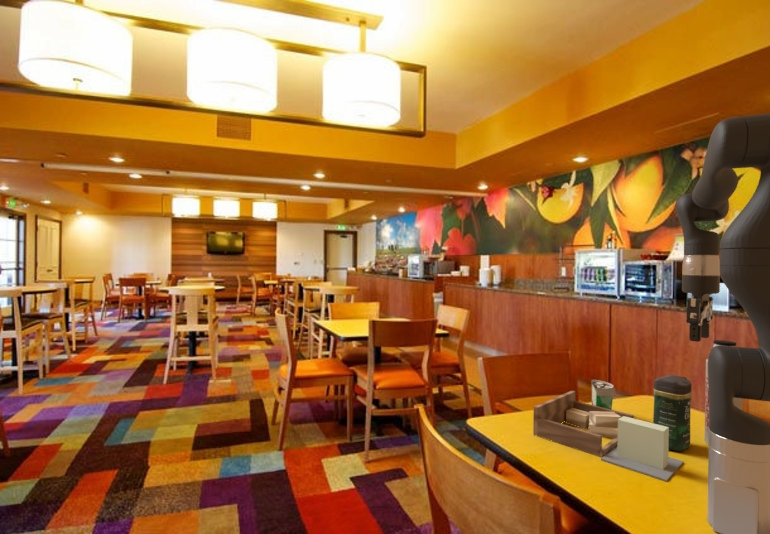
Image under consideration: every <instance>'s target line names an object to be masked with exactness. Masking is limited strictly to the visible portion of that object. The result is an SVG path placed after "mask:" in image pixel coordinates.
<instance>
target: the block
mask: <svg viewBox="0 0 770 534" xmlns="http://www.w3.org/2000/svg"><path fill="white" fill-rule="evenodd" d="M668 444H669V427H666V426H662V425H658V424H654V423H653V422H649V421H646V420H641V419H637V418H629V417H625V416H623V417H621V418H620V419H618V440H617V456H621V457H624V458H627V459H630V460H633V461H637V462H640V463H643V464H646V465H649V466H653V467H656V468H659V469H662V470H663V469H664V468H665V467H666V466H667V465H668V457H669V450H668Z"/></svg>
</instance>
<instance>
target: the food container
mask: <svg viewBox="0 0 770 534" xmlns="http://www.w3.org/2000/svg"><path fill="white" fill-rule="evenodd" d="M614 395H616V389H615V387H614V384H612V383H610V382H607V381H603V380H599V379H598V380H597V379H591V405H595V406H599V407H603V408H607V409H611V410H613V409H612V408H613V399H614Z"/></svg>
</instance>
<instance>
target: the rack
mask: <svg viewBox="0 0 770 534" xmlns="http://www.w3.org/2000/svg"><path fill="white" fill-rule="evenodd" d="M576 395H577V394H576V391H575V390H570V391H567V392H566V393H565V392H564V393H563V394H560V395H558V396H556V397H554V398H551V399H548V400H546V401H544V402H542V403H539V404H537V405H534V406H533V418H532V419H533V420H532V421H533V423H532V424H533V426H532V427H533V429H532V433H533V434H534V435H533V434H532V435H533V436H535V435H537V436H536V437H538V436H539V438H541V437H543V438H542V439H544V438H546V439H545V440H547V439H549V440H548V441H550V440H552V441H551V442H554V441H555V442H554V443H557V442H558V443H557V444H559V445H563V446H566V447H569V448H573V449H576V450H578V451H582V452H585V453H587V454H588V453H589V454H591V455H594V456H598V457H600V458H602V457H604V456H605V455H606V454H608V453H609V452H610V451H612V450H613V449H614V448H616V447H617V440H618V437H616V438H615V439H613V438H612V439H611V441H609V442H608V443H606V444H605V445H603V443H602V442H603V439H602V438H603V436H602V435H599V434H595V433H592V432H589V430H586V429H582V428H579V427H575V426H572V425H569V424H568V425H567V424H564V423H565V422H564V421H566V410H569V409H572V408H575V409H578V410H582V411H586V412H589V411H599V412H615V413H616V414H618V415H619V416H621V417H623V416H625V417H629V418H634V416H635V415H634V414H631V413H627V412H623V411H618V410H616V409H615V410H614V409H612V410H611V409H607V408H603V407H599V406H595V405H592V404H590V403H586V402H581V401H579V400H578V401H577V400H576ZM634 419H635V418H634ZM562 422H564V423H562ZM561 423H562V424H561Z"/></svg>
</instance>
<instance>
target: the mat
mask: <svg viewBox="0 0 770 534" xmlns="http://www.w3.org/2000/svg"><path fill="white" fill-rule="evenodd" d="M600 461H602V462H606V463H608V464H612V465H614V466H616V467H617V466H618V467H620V468H624V469H627V470H630V471H633V472H636V473H638V474H642V475H645V476H649V477H651V478H654V479H657V480H660V481H664V482H666V483H667V482H668V481H669V480H670V479H671V477H672V476H673V475H674V474H675V473H676V472H677V471H678V470H679V468H681V466H683V464H684V460H680V459H679V458H678V459H677V458H674V457H671V456H668V465H667V466H666V467H665V468H664V469H663V470H662V469H659V468H656V467H653V466H649V465H646V464H643V463H640V462H637V461H633V460H630V459H627V458H624V457H621V456H617V447H616V448H614V449H613V450H611V451H610V452H609V453H607V454H606V455H605V456H603V457H600Z"/></svg>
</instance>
